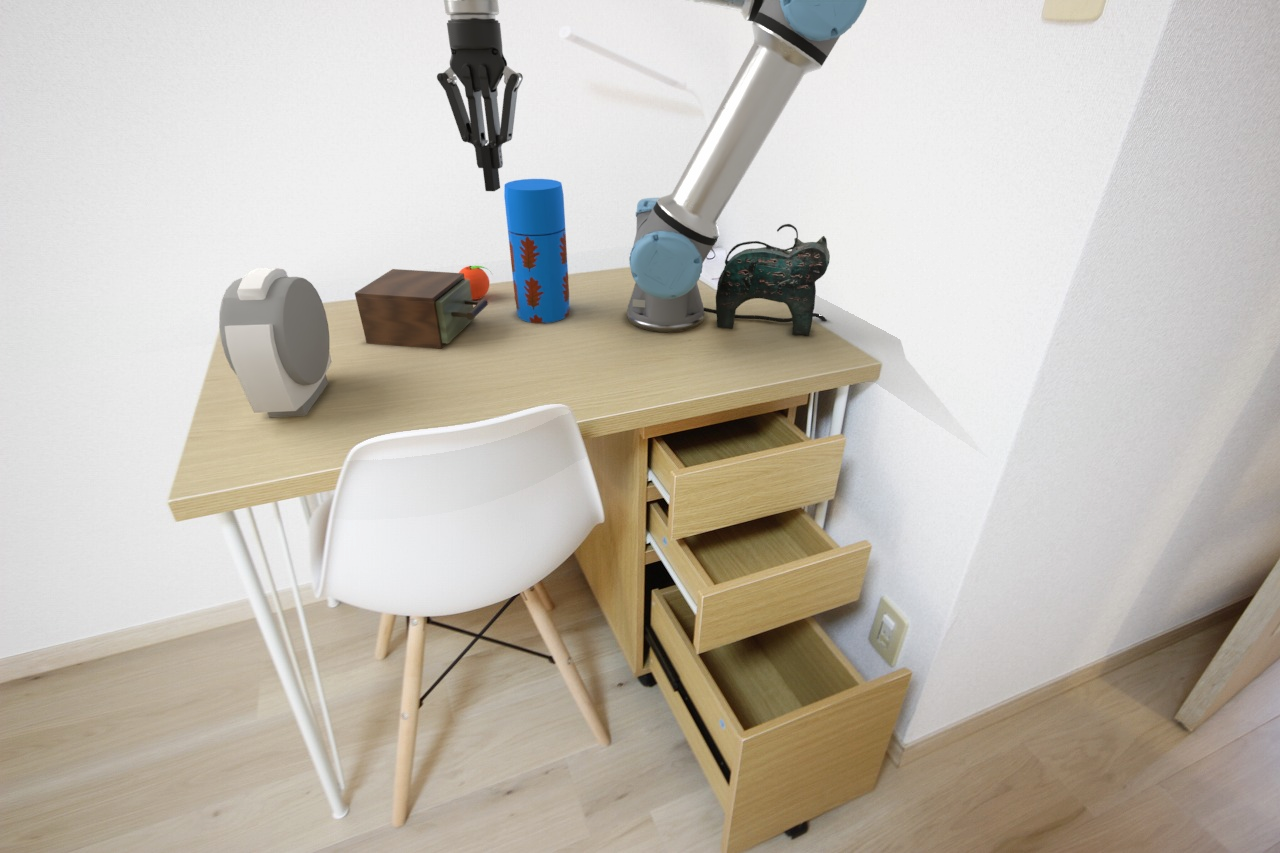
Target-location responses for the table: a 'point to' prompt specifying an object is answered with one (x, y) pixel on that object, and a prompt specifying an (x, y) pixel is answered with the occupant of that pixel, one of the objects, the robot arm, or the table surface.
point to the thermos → (538, 249)
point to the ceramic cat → (773, 280)
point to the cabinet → (404, 307)
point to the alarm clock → (276, 341)
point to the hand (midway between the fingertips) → (493, 189)
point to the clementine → (476, 280)
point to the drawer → (457, 310)
